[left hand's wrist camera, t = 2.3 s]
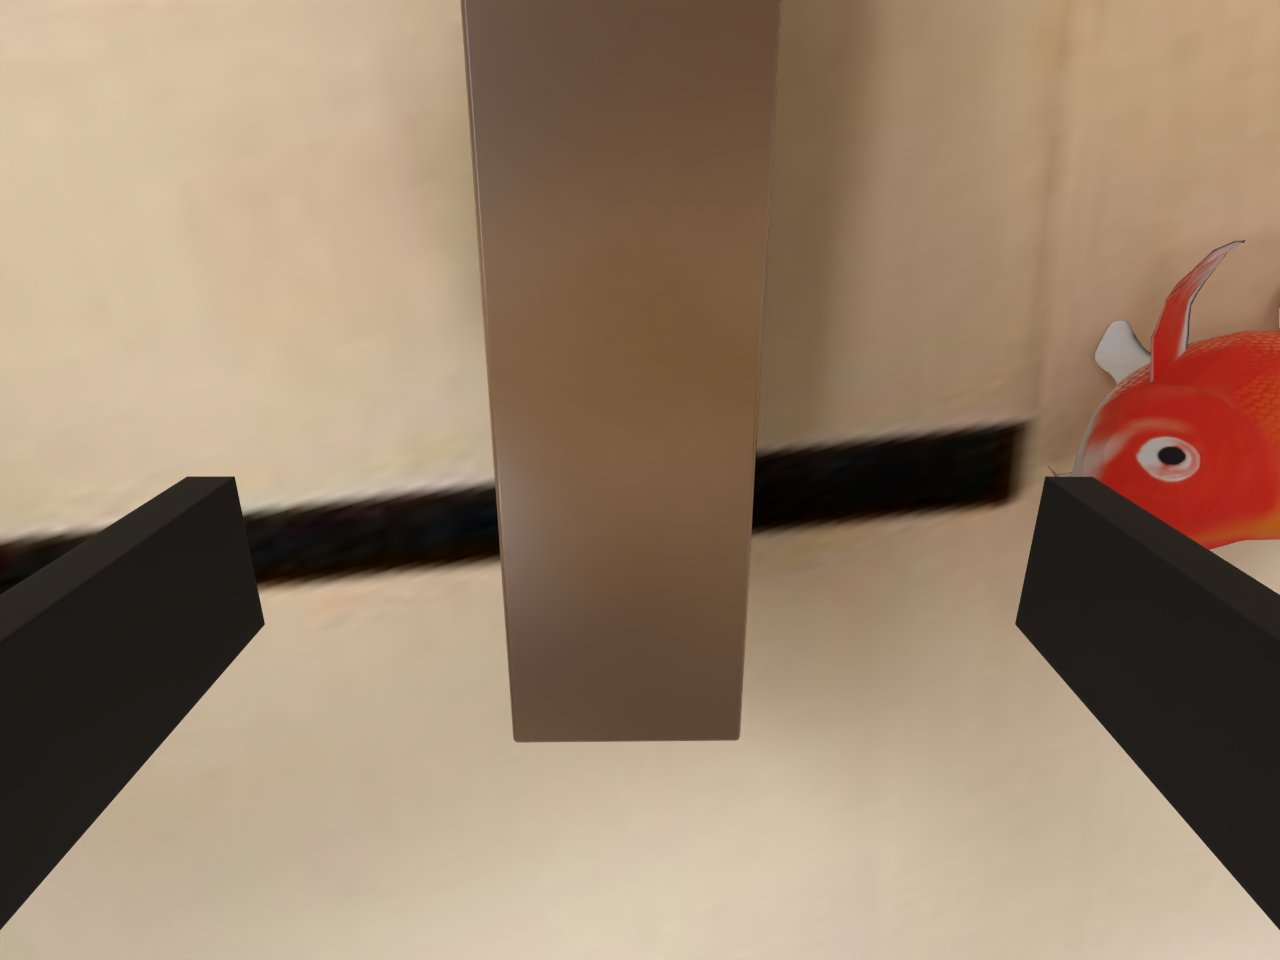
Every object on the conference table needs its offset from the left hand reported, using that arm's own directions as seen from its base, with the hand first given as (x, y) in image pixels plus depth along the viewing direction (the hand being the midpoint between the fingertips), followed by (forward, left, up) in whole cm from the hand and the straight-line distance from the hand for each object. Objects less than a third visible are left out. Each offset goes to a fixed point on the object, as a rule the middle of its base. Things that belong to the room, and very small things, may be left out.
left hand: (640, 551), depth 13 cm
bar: (+6, +4, -9) cm, 12 cm away
